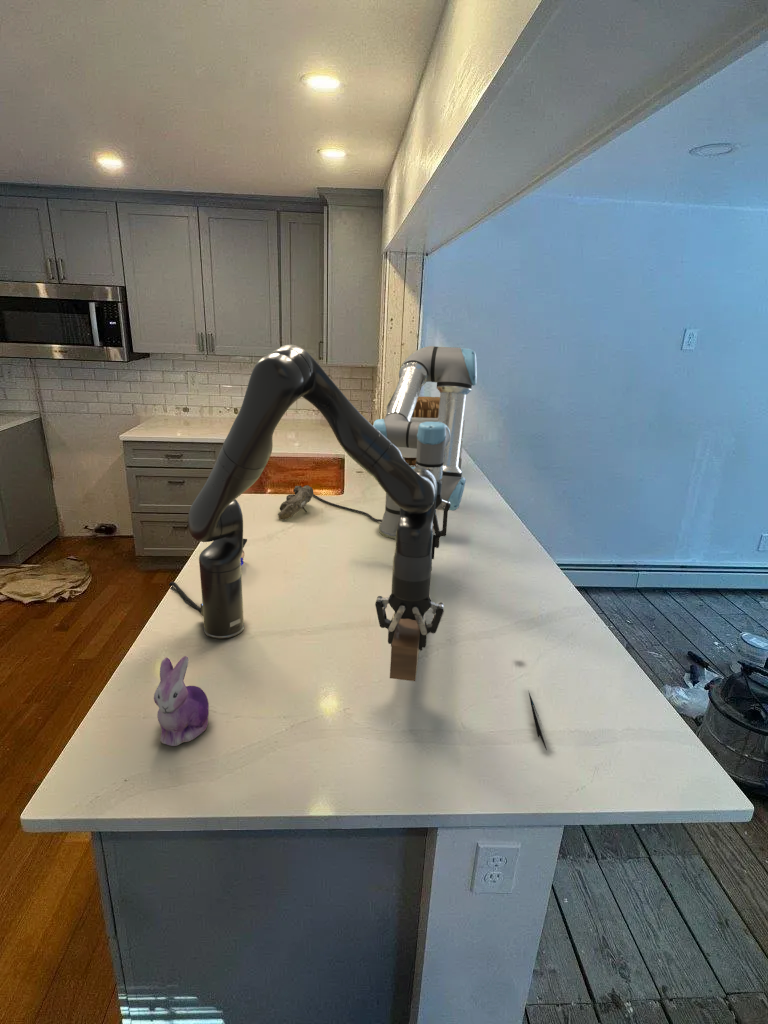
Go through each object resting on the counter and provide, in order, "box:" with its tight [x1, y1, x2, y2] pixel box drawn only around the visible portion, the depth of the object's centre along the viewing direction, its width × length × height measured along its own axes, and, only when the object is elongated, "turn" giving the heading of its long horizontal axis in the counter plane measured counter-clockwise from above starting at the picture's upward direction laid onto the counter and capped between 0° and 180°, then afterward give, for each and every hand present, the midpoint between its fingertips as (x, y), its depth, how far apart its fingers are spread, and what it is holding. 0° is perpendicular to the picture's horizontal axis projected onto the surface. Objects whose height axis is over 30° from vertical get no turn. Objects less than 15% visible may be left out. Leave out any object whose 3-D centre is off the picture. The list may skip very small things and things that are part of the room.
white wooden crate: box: [385, 391, 465, 471], centre depth 268 cm, size 34×33×41 cm
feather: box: [528, 689, 548, 751], centre depth 116 cm, size 2×28×2 cm
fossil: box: [277, 484, 315, 521], centre depth 215 cm, size 22×10×15 cm
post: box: [389, 526, 435, 682], centre depth 139 cm, size 65×5×8 cm, turn 173°
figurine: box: [153, 655, 210, 747], centre depth 102 cm, size 9×10×15 cm
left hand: (406, 646), depth 116 cm, fingers closed on post, 5 cm apart
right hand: (422, 556), depth 164 cm, fingers closed on post, 5 cm apart
